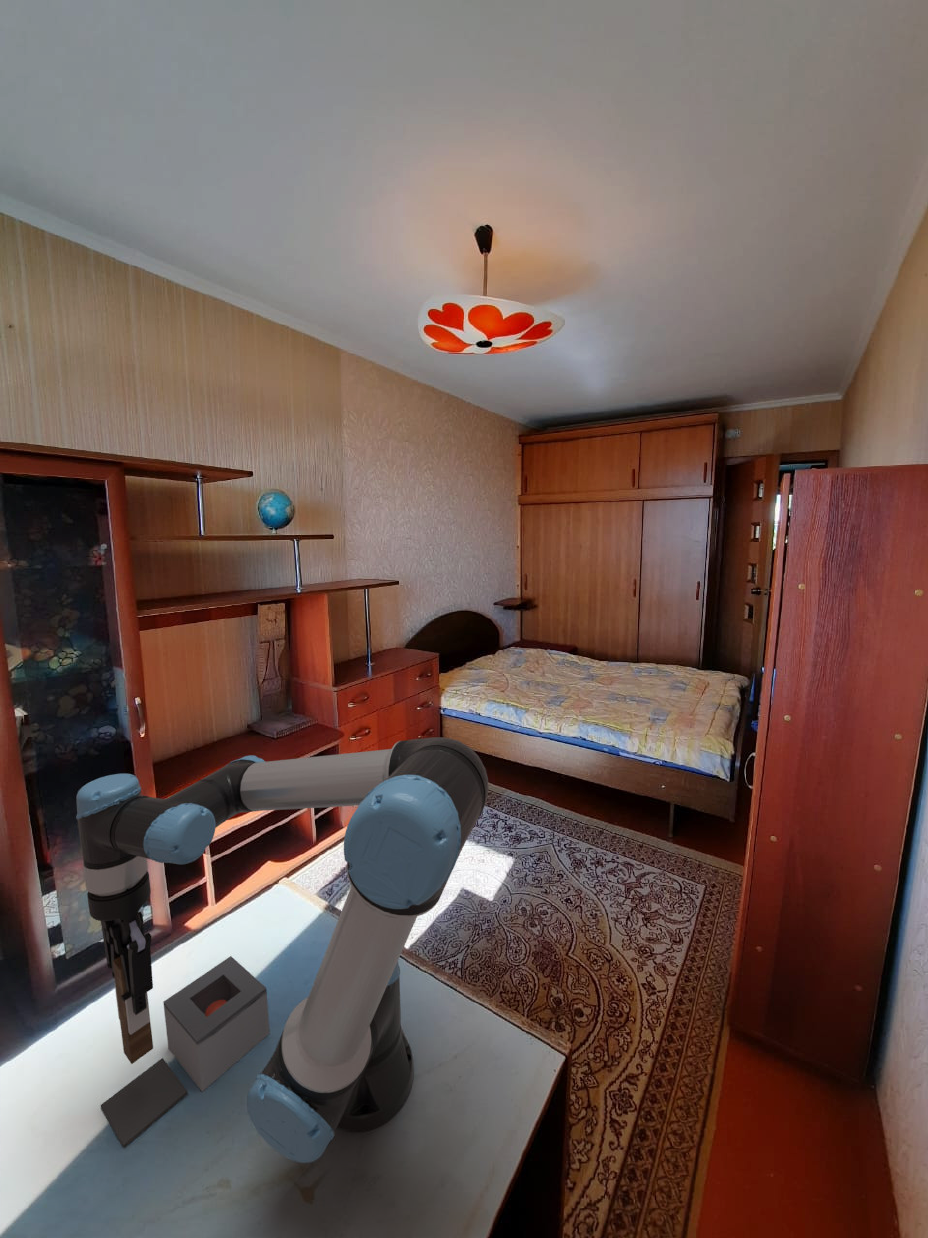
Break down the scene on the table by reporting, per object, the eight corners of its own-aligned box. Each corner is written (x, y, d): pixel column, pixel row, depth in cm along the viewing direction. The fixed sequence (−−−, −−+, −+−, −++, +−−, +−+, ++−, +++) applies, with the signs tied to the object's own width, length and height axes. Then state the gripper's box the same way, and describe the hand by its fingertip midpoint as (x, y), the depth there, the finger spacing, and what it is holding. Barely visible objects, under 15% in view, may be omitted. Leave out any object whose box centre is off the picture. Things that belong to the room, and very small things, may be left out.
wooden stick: (153, 1048, 77) (143, 957, 75) (131, 1064, 75) (120, 970, 73) (145, 1037, 79) (135, 947, 77) (123, 1052, 77) (112, 960, 75)
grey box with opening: (269, 1033, 89) (266, 988, 88) (202, 1092, 79) (197, 1042, 78) (234, 998, 96) (230, 956, 95) (168, 1048, 86) (163, 1002, 85)
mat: (187, 1094, 79) (187, 1091, 79) (123, 1149, 72) (123, 1145, 72) (162, 1060, 84) (162, 1057, 84) (100, 1108, 77) (100, 1105, 77)
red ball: (234, 1028, 88) (232, 1006, 87) (213, 1045, 85) (211, 1022, 84) (223, 1017, 90) (221, 996, 89) (203, 1033, 87) (201, 1011, 86)
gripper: (170, 887, 71) (184, 1030, 74) (125, 849, 81) (140, 977, 84) (109, 919, 65) (127, 1072, 69) (69, 873, 75) (86, 1010, 78)
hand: (134, 1019), depth 76 cm, fingers closed on wooden stick, 3 cm apart
